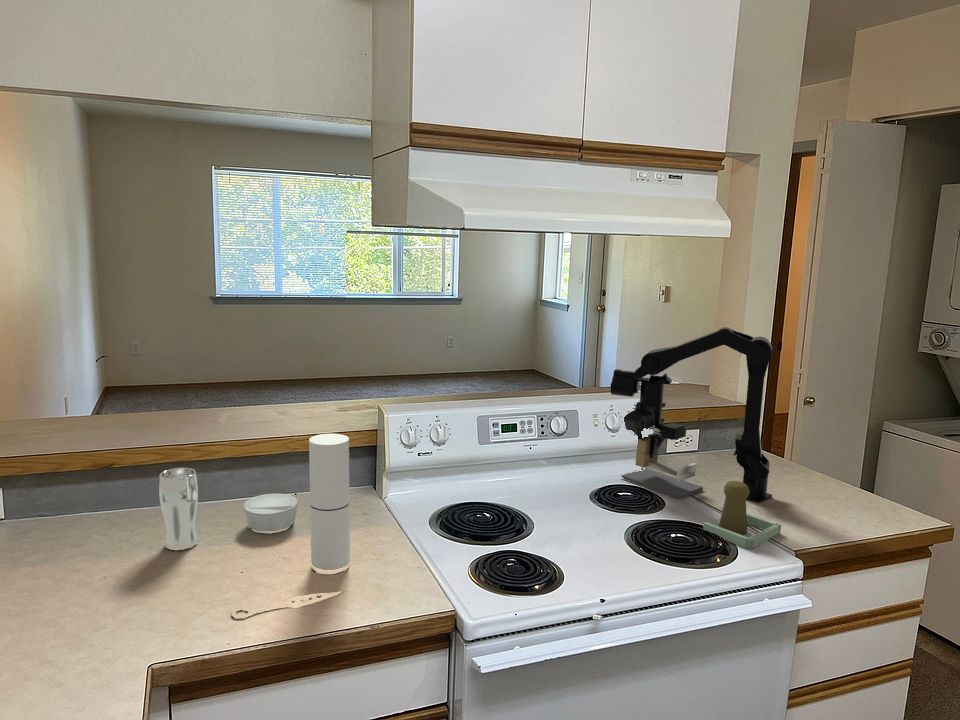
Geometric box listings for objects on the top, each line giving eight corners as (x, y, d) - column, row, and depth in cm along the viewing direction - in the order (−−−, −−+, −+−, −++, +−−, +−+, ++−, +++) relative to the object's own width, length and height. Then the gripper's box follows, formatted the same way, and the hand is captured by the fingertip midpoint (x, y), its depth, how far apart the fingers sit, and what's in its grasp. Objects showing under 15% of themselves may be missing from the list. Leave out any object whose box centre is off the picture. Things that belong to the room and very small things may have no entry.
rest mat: (644, 471, 191) (644, 467, 191) (702, 490, 177) (703, 486, 177) (621, 478, 184) (621, 475, 184) (680, 499, 171) (680, 495, 171)
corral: (733, 517, 161) (734, 509, 161) (780, 533, 153) (781, 524, 152) (702, 531, 153) (703, 523, 152) (749, 549, 144) (750, 540, 144)
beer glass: (208, 541, 141) (204, 470, 139) (180, 555, 135) (176, 481, 132) (182, 534, 144) (179, 465, 141) (154, 547, 138) (150, 475, 135)
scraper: (650, 459, 187) (652, 434, 186) (694, 475, 177) (698, 449, 176) (634, 465, 183) (636, 439, 181) (679, 481, 173) (682, 455, 171)
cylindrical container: (316, 578, 128) (314, 446, 123) (307, 561, 134) (304, 436, 130) (354, 570, 131) (353, 442, 127) (343, 554, 137) (342, 431, 133)
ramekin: (257, 542, 142) (256, 517, 141) (235, 524, 150) (234, 501, 149) (307, 528, 149) (307, 504, 148) (284, 511, 158) (283, 489, 157)
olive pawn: (741, 538, 150) (745, 490, 148) (713, 530, 153) (718, 482, 151) (751, 530, 154) (756, 482, 152) (724, 522, 158) (729, 476, 156)
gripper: (603, 396, 182) (599, 453, 185) (663, 410, 169) (658, 472, 171) (629, 390, 190) (625, 446, 192) (689, 404, 176) (684, 463, 179)
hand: (647, 456), depth 184 cm, fingers closed on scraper, 2 cm apart
